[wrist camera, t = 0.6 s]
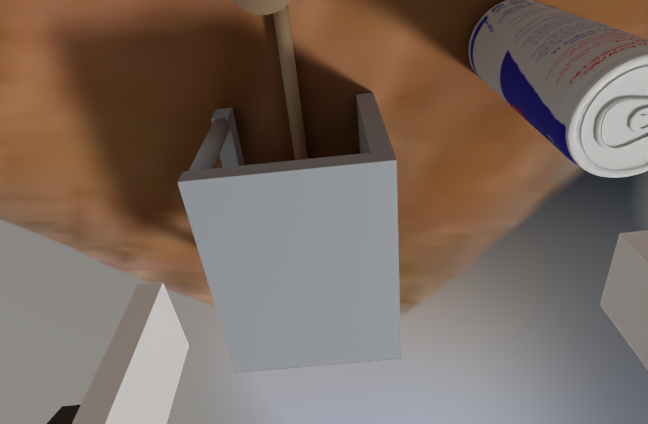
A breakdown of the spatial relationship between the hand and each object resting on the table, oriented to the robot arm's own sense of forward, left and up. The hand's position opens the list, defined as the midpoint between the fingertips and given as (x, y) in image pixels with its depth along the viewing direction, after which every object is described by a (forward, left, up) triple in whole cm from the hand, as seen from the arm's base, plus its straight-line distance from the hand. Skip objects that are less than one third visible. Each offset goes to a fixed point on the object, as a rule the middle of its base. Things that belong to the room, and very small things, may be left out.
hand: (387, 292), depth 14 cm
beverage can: (-1, +11, -22) cm, 25 cm away
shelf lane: (+9, -4, -22) cm, 24 cm away
